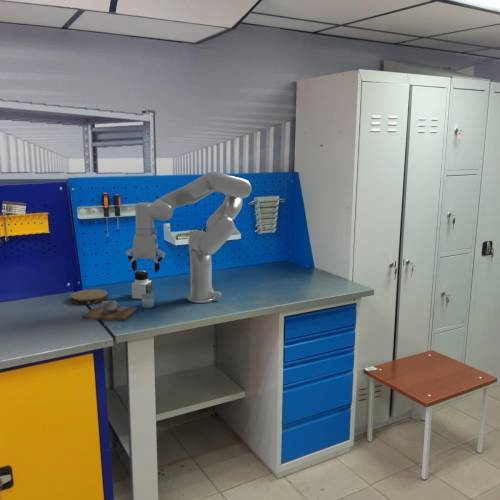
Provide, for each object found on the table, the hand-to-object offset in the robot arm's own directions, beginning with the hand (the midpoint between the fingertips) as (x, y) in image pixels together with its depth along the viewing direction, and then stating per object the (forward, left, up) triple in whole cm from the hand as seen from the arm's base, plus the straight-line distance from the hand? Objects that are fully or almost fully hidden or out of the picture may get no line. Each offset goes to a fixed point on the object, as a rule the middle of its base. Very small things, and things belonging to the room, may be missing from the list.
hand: (145, 271), depth 221 cm
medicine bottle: (+7, -13, -16) cm, 22 cm away
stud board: (+12, +13, -16) cm, 23 cm away
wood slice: (+29, -5, -16) cm, 33 cm away
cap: (0, 0, -16) cm, 16 cm away
